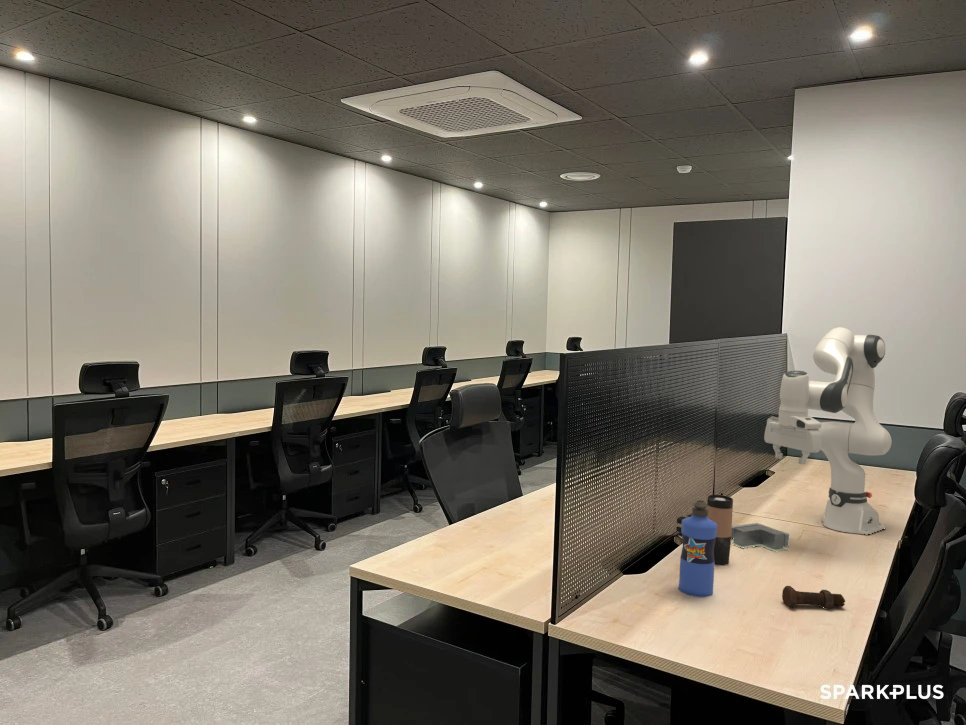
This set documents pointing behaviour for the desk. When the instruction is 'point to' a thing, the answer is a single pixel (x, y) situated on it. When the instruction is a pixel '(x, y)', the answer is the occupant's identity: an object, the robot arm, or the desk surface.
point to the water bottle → (697, 552)
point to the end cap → (679, 520)
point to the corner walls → (786, 536)
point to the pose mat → (761, 545)
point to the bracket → (758, 536)
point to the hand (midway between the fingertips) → (790, 461)
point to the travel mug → (721, 526)
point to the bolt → (811, 598)
